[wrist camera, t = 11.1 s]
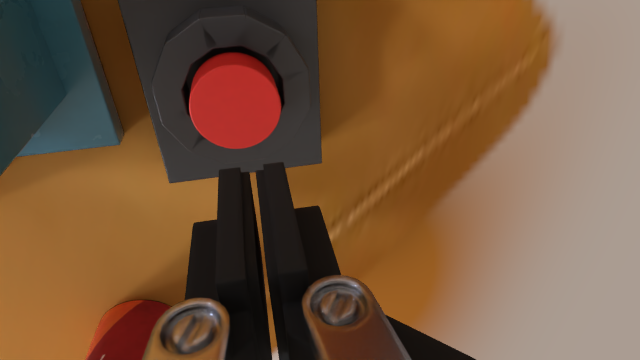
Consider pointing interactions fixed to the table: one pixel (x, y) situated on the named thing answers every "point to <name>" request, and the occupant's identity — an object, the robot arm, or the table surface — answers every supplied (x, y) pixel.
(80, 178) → the table surface
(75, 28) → the bracket
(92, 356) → the paper cup
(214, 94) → the button
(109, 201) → the table surface
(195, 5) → the control block
